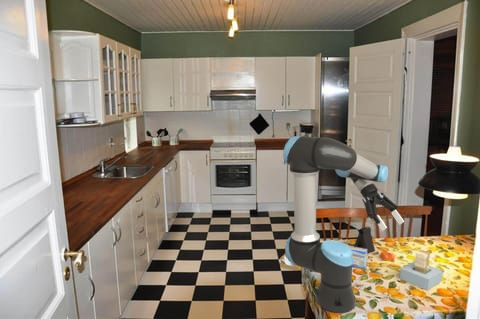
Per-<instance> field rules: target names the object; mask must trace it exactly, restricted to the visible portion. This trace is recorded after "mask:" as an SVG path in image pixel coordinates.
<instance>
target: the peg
mask: <svg viewBox="0 0 480 319" xmlns="http://www.w3.org/2000/svg"><path fill="white" fill-rule="evenodd" d="M430 256H431V253H430V252H429V251H426V250H423V249H420V250H418V251H415V258H414V261H415V271H418V272H420V273H423V274H426V273H428V272H429V266H430Z"/></svg>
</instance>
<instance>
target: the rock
mask: <svg viewBox="0 0 480 319" xmlns="http://www.w3.org/2000/svg"><path fill="white" fill-rule="evenodd" d="M380 258H381V261H384V262H389V261H393V260H395V259H396V254H394V253H392V252H387V251H386V250H381V251H380Z"/></svg>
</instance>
